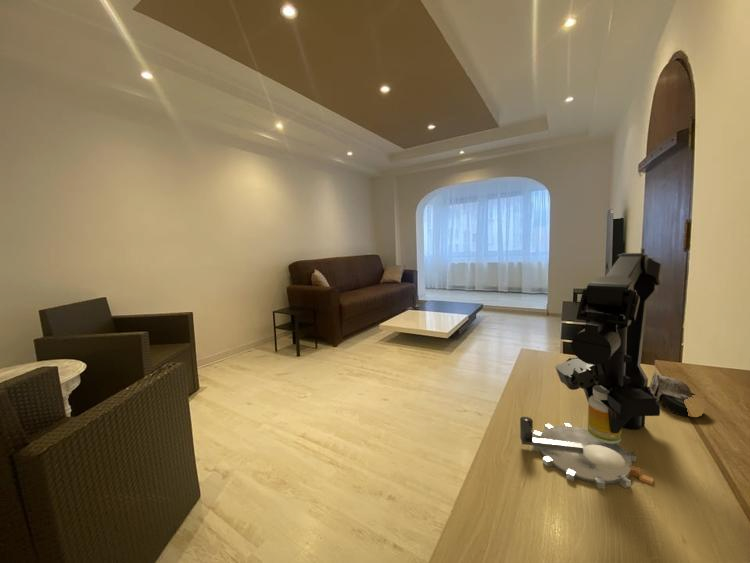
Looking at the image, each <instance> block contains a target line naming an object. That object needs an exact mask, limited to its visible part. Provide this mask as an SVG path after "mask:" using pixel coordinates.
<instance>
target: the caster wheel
mask: <svg viewBox="0 0 750 563" xmlns="http://www.w3.org/2000/svg"><path fill="white" fill-rule="evenodd" d="M648 387H650V389H651V393H652V394H653V396H654V398H655V399H656V400H657V401H658V402H660V403H661V404H662V406H664V408H666V409H668V410H669V411H671V412H673V413H675V414H677V415H678V416H679V415H680V416H683V417H685V418H689V417H688V412H687V408H686V406H685V404H684V400H685V399H688V397H689V398H690V397H692V395H696V394H695V393H694V392H692V391H691V388H690V387H689V386H688V385H687V384H686V383H685V382H684V381H682V380H681V379H676V378H672V377H668V376H664V375H661V374H657V370H656V369H655V370H654V372H653V375H652V378H651V380H650V383H649V386H648ZM692 398H693V397H692Z"/></svg>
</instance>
